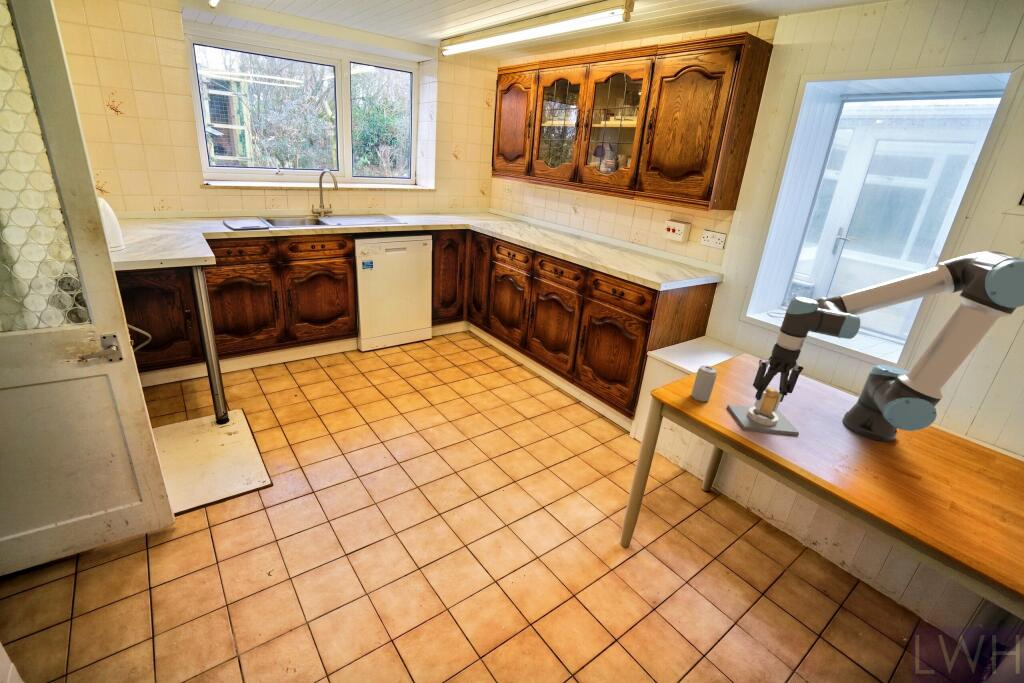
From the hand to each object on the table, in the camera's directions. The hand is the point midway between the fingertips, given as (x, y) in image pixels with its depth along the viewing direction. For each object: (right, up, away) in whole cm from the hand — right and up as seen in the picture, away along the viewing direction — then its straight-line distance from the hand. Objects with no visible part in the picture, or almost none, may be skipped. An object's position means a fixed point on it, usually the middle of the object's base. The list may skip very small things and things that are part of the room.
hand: (765, 408), depth 160 cm
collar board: (0, -4, +2) cm, 5 cm away
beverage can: (-17, +2, +13) cm, 21 cm away
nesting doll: (0, -1, 0) cm, 1 cm away
